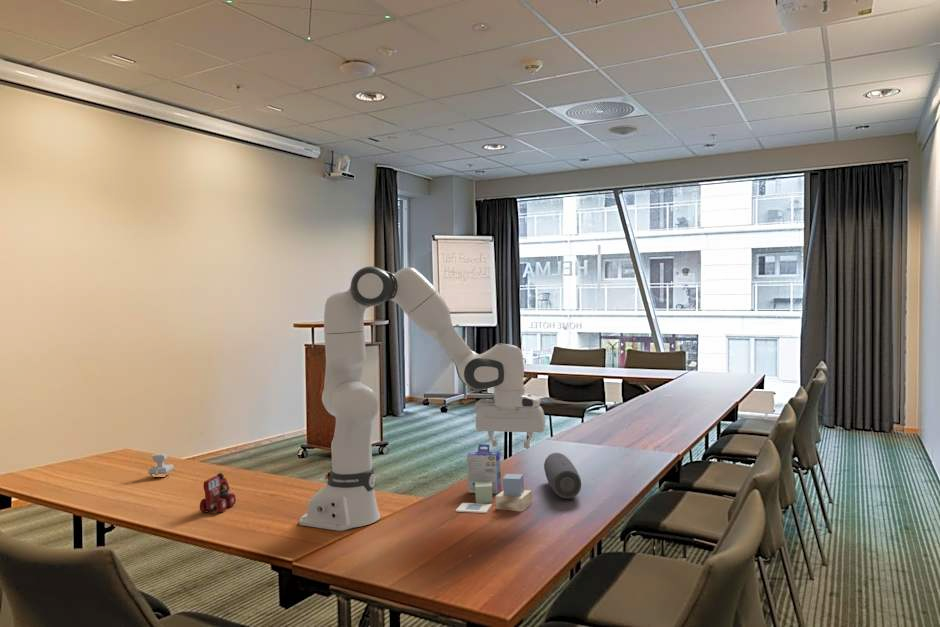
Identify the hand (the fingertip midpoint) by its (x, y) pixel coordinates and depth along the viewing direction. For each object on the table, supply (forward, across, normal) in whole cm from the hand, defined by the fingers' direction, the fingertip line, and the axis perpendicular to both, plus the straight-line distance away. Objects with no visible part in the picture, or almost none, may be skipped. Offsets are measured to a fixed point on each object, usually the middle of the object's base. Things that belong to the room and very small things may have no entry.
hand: (510, 446), depth 187 cm
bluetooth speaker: (+17, +12, +16) cm, 27 cm away
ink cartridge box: (+18, -12, +13) cm, 25 cm away
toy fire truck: (+19, -88, -15) cm, 92 cm away
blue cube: (+14, 0, 0) cm, 14 cm away
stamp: (+19, -137, +16) cm, 139 cm away
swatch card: (+18, -11, -4) cm, 21 cm away
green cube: (+18, -10, +4) cm, 20 cm away
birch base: (+18, 0, 0) cm, 18 cm away
